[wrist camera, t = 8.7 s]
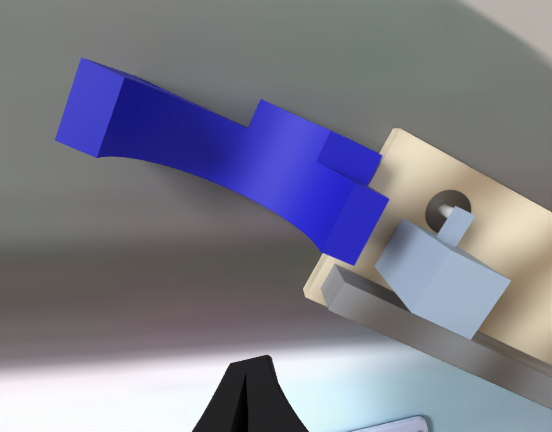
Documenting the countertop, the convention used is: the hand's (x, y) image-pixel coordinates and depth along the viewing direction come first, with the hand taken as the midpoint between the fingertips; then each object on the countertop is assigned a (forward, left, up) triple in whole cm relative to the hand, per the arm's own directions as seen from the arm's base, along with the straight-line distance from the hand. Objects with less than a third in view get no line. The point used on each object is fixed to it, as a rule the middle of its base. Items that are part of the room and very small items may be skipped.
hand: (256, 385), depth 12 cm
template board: (-5, -14, -9) cm, 18 cm away
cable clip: (+7, -1, -10) cm, 12 cm away
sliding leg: (0, -9, -8) cm, 12 cm away
